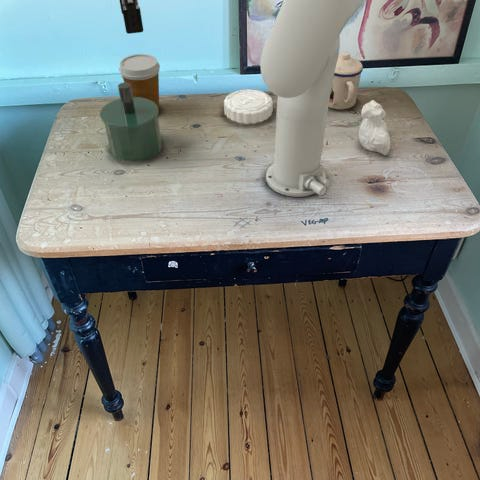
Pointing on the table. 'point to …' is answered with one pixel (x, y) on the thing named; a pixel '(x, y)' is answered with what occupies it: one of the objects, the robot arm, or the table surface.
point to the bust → (374, 129)
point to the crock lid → (128, 110)
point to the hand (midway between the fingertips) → (132, 22)
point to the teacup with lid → (345, 82)
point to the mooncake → (248, 106)
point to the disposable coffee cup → (142, 76)
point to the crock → (135, 141)
